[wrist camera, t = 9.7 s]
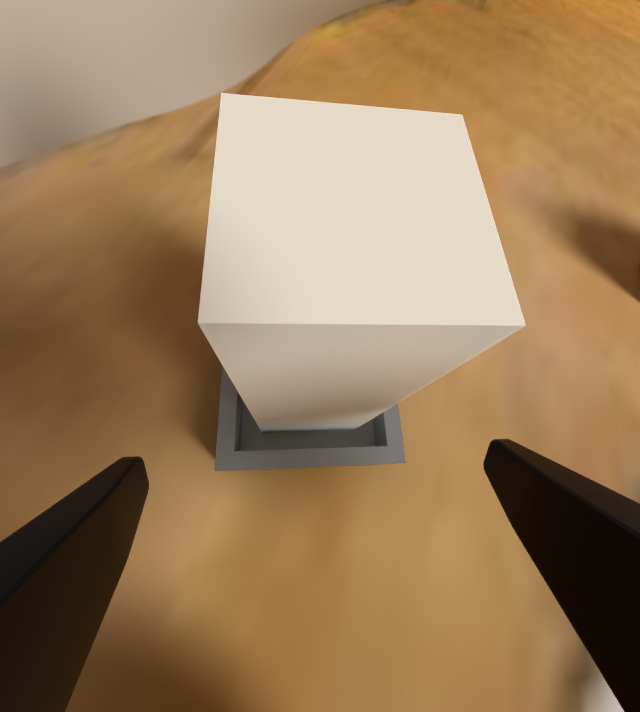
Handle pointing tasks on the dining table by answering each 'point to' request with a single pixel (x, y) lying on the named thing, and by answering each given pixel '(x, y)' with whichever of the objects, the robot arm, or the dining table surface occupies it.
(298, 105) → the block
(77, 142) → the dining table surface
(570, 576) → the robot arm
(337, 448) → the dock tray
